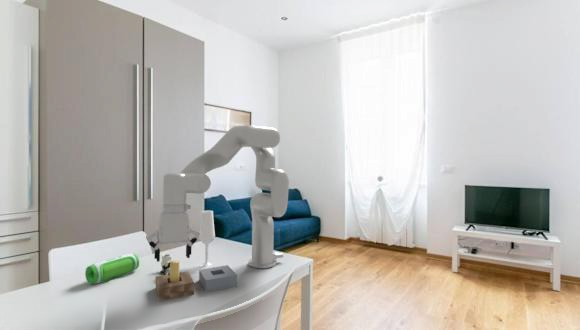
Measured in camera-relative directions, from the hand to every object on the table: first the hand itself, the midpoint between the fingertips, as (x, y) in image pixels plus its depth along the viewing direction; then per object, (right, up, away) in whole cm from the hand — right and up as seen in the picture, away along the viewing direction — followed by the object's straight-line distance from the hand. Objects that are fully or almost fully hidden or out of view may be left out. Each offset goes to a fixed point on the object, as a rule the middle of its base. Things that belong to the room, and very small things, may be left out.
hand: (173, 258), depth 106 cm
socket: (+13, -12, +8) cm, 20 cm away
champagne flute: (+4, -12, +27) cm, 30 cm away
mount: (0, -12, +1) cm, 12 cm away
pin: (0, -11, +1) cm, 11 cm away
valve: (-9, -12, +18) cm, 23 cm away
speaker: (-29, -12, +14) cm, 34 cm away
